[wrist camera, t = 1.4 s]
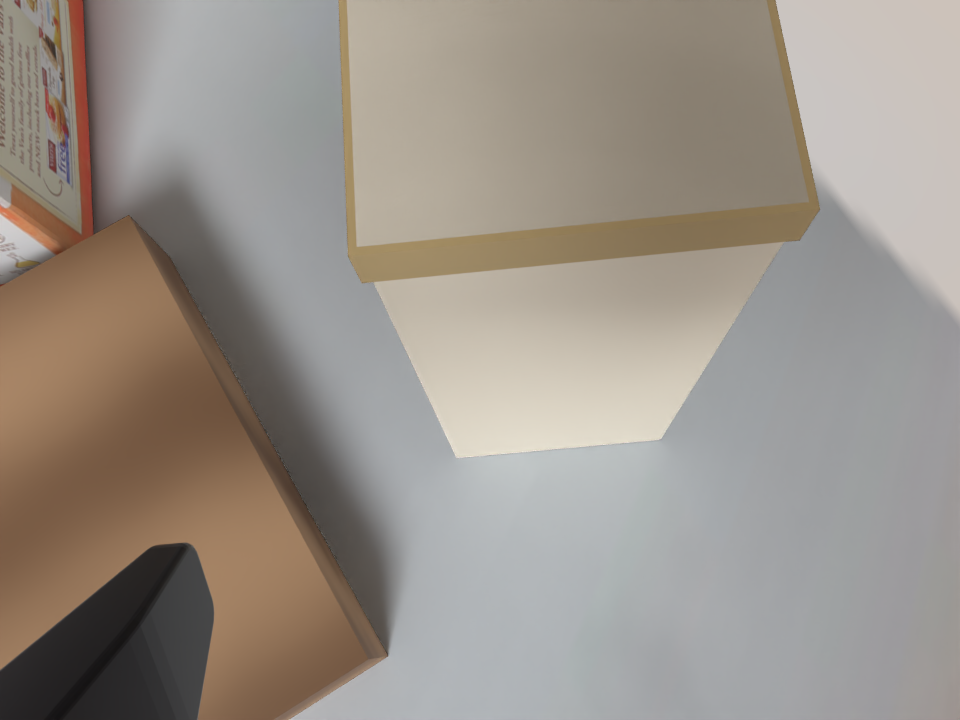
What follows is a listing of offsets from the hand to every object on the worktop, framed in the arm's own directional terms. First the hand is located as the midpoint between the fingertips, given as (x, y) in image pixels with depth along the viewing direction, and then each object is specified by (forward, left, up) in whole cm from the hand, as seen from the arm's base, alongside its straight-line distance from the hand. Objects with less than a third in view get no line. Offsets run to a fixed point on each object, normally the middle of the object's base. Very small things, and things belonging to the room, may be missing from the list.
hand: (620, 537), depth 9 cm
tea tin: (+5, -3, -12) cm, 13 cm away
